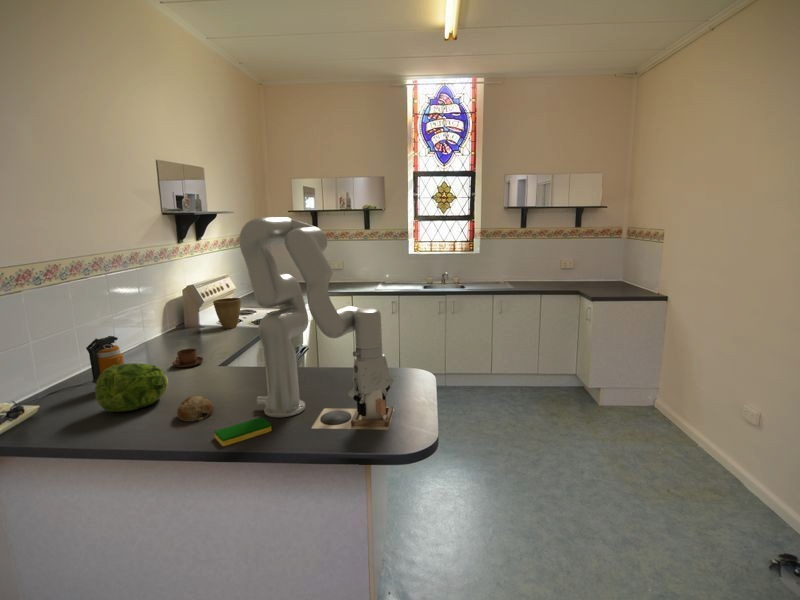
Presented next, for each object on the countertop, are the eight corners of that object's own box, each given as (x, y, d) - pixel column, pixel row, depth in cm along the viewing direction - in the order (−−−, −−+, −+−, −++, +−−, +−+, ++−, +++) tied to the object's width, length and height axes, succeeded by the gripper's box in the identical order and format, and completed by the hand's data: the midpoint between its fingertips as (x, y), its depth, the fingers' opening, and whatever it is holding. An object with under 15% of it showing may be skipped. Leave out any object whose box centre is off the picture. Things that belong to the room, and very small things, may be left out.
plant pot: (247, 324, 277) (245, 297, 274) (236, 330, 262) (233, 301, 259) (223, 324, 278) (220, 297, 275) (211, 330, 264) (207, 302, 261)
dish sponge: (214, 438, 132) (213, 430, 132) (262, 424, 140) (261, 416, 140) (223, 448, 127) (222, 439, 126) (272, 432, 135) (271, 424, 134)
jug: (357, 416, 138) (355, 387, 137) (374, 410, 142) (373, 382, 141) (374, 426, 132) (373, 395, 130) (392, 419, 136) (391, 389, 134)
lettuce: (179, 409, 160) (182, 363, 163) (118, 412, 142) (123, 361, 144) (148, 409, 168) (151, 365, 170) (86, 412, 149) (90, 363, 152)
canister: (132, 386, 176) (125, 334, 173) (103, 397, 166) (94, 342, 163) (116, 384, 180) (109, 333, 176) (87, 394, 170) (78, 340, 167)
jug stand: (311, 431, 133) (310, 423, 133) (324, 411, 147) (323, 403, 146) (388, 432, 131) (388, 424, 130) (394, 412, 144) (394, 404, 144)
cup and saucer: (196, 369, 195) (194, 354, 194) (167, 370, 195) (165, 355, 194) (208, 360, 207) (206, 346, 206) (181, 361, 207) (179, 347, 206)
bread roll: (188, 435, 142) (192, 414, 139) (168, 415, 147) (171, 395, 143) (216, 422, 151) (221, 402, 148) (196, 404, 155) (200, 384, 152)
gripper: (350, 361, 126) (354, 424, 129) (401, 348, 137) (403, 406, 140) (336, 355, 132) (339, 416, 135) (385, 343, 143) (387, 399, 146)
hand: (372, 410), depth 138 cm, fingers closed on jug, 6 cm apart
